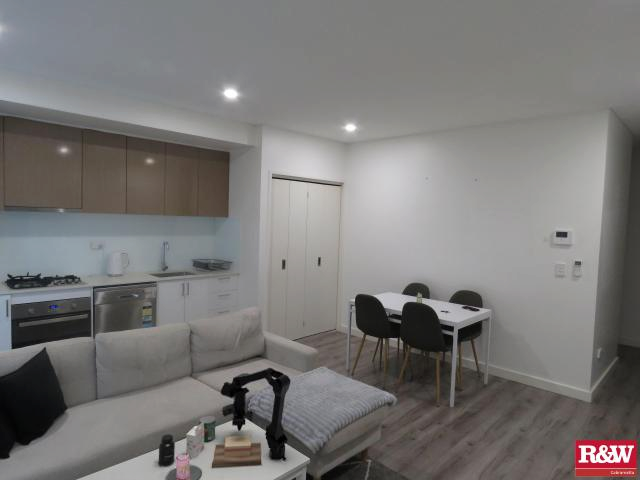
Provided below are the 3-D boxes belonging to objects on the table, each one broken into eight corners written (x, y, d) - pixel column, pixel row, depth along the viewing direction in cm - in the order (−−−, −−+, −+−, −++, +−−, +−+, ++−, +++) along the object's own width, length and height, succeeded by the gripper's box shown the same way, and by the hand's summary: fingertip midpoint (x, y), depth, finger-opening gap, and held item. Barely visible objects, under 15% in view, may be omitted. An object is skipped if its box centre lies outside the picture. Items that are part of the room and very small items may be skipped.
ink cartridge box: (194, 448, 199) (195, 419, 198) (204, 450, 198) (204, 420, 197) (185, 458, 191) (186, 427, 190) (195, 460, 190) (196, 429, 189)
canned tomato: (195, 443, 204) (196, 421, 204) (203, 435, 212) (204, 414, 211) (210, 445, 202) (210, 423, 202) (217, 437, 210) (218, 416, 209)
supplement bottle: (167, 468, 183) (167, 442, 182) (155, 464, 185) (155, 438, 185) (177, 460, 189) (178, 434, 189) (165, 456, 192) (166, 431, 191)
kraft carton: (225, 446, 200) (226, 436, 200) (250, 445, 202) (251, 435, 202) (224, 457, 191) (224, 446, 191) (250, 455, 193) (250, 445, 193)
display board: (215, 446, 201) (215, 440, 201) (260, 444, 205) (260, 438, 205) (211, 470, 182) (211, 463, 182) (261, 467, 186) (261, 460, 186)
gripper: (224, 392, 212) (224, 422, 213) (221, 409, 193) (221, 441, 194) (246, 391, 214) (245, 421, 214) (245, 408, 195) (244, 440, 196)
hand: (239, 430), depth 205 cm, fingers closed
